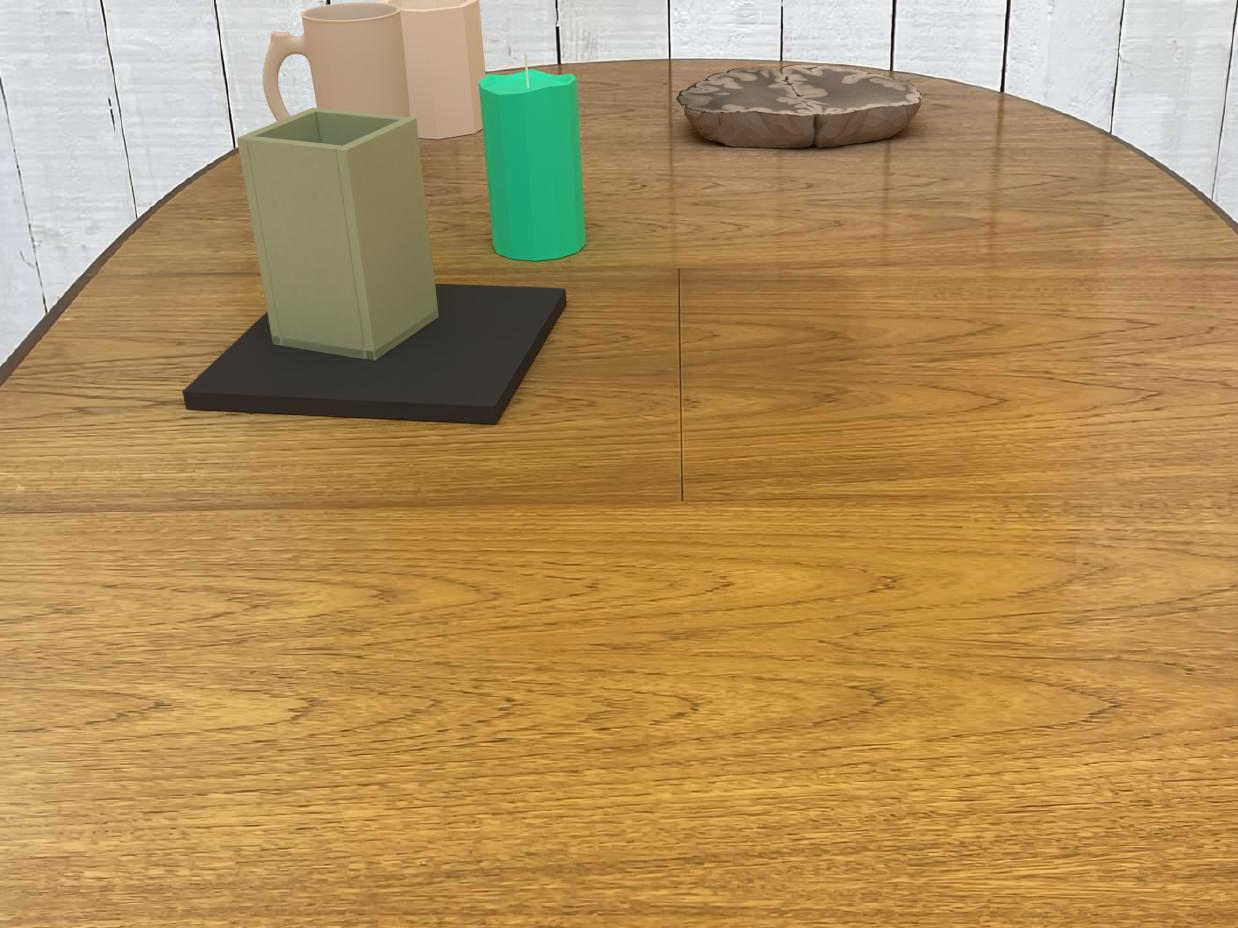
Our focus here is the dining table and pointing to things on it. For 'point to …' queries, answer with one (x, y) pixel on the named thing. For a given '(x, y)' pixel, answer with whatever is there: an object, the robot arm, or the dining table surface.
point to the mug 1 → (345, 59)
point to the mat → (395, 364)
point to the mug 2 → (443, 65)
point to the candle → (533, 164)
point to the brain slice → (799, 106)
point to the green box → (341, 230)
